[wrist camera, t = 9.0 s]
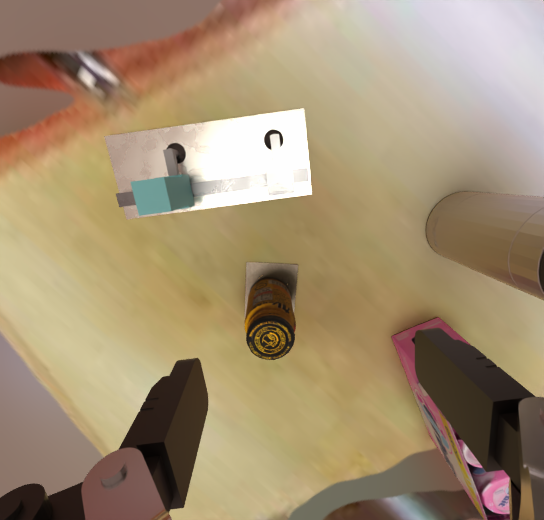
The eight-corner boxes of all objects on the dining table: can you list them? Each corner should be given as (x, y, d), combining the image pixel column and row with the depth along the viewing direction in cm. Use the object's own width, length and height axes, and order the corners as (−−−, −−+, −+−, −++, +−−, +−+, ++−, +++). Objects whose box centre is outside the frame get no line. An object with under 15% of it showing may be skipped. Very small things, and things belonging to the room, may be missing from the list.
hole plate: (302, 111, 36) (308, 99, 31) (310, 193, 39) (317, 196, 33) (110, 137, 36) (84, 131, 31) (131, 217, 39) (110, 224, 34)
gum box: (386, 328, 44) (436, 391, 31) (435, 307, 44) (508, 363, 31) (431, 439, 51) (488, 530, 38) (475, 423, 50) (549, 510, 37)
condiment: (244, 316, 43) (237, 366, 32) (246, 261, 41) (239, 294, 29) (293, 318, 44) (303, 368, 32) (297, 264, 41) (310, 297, 30)
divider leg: (187, 148, 35) (154, 135, 25) (198, 204, 37) (172, 214, 26) (162, 151, 35) (119, 140, 25) (174, 207, 37) (139, 219, 26)
